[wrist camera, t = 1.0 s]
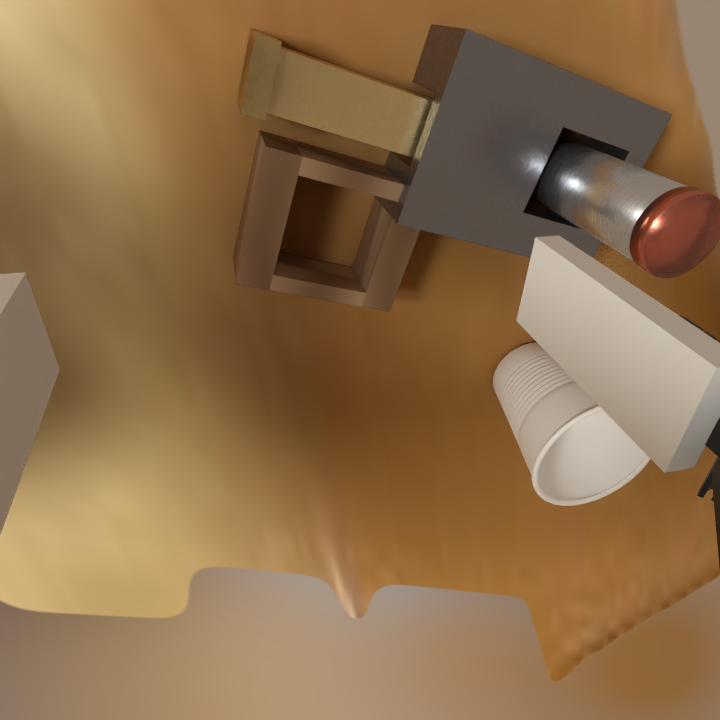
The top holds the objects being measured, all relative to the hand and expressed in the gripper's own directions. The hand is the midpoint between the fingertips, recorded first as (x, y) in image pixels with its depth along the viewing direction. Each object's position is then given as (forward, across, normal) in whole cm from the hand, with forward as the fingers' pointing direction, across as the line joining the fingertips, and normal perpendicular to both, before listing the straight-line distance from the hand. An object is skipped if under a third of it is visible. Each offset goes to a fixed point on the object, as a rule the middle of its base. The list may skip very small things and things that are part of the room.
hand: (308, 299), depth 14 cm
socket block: (+20, +16, -1) cm, 26 cm away
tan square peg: (+21, +5, +2) cm, 21 cm away
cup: (+21, +22, -20) cm, 36 cm away
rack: (+21, +4, -5) cm, 22 cm away
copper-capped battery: (+20, +19, -2) cm, 28 cm away
